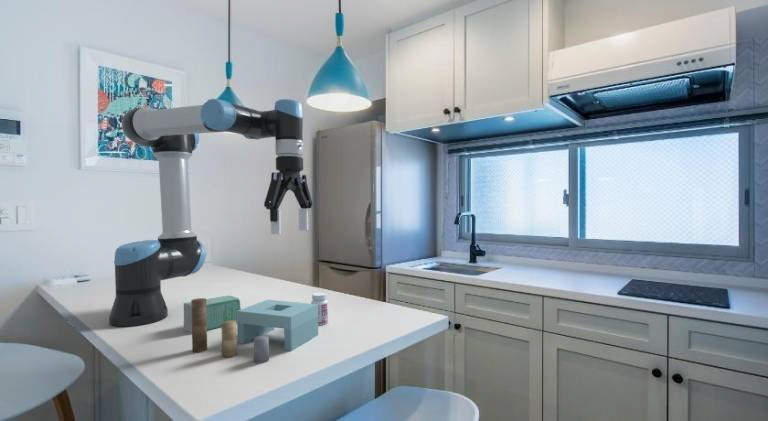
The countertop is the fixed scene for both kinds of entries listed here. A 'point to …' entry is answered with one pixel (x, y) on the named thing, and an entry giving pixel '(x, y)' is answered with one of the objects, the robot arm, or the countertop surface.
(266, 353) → the charcoal pin
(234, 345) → the oak pin
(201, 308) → the walnut pin
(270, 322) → the bridge
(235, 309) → the box
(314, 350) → the countertop surface
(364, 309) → the countertop surface
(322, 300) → the pill bottle
